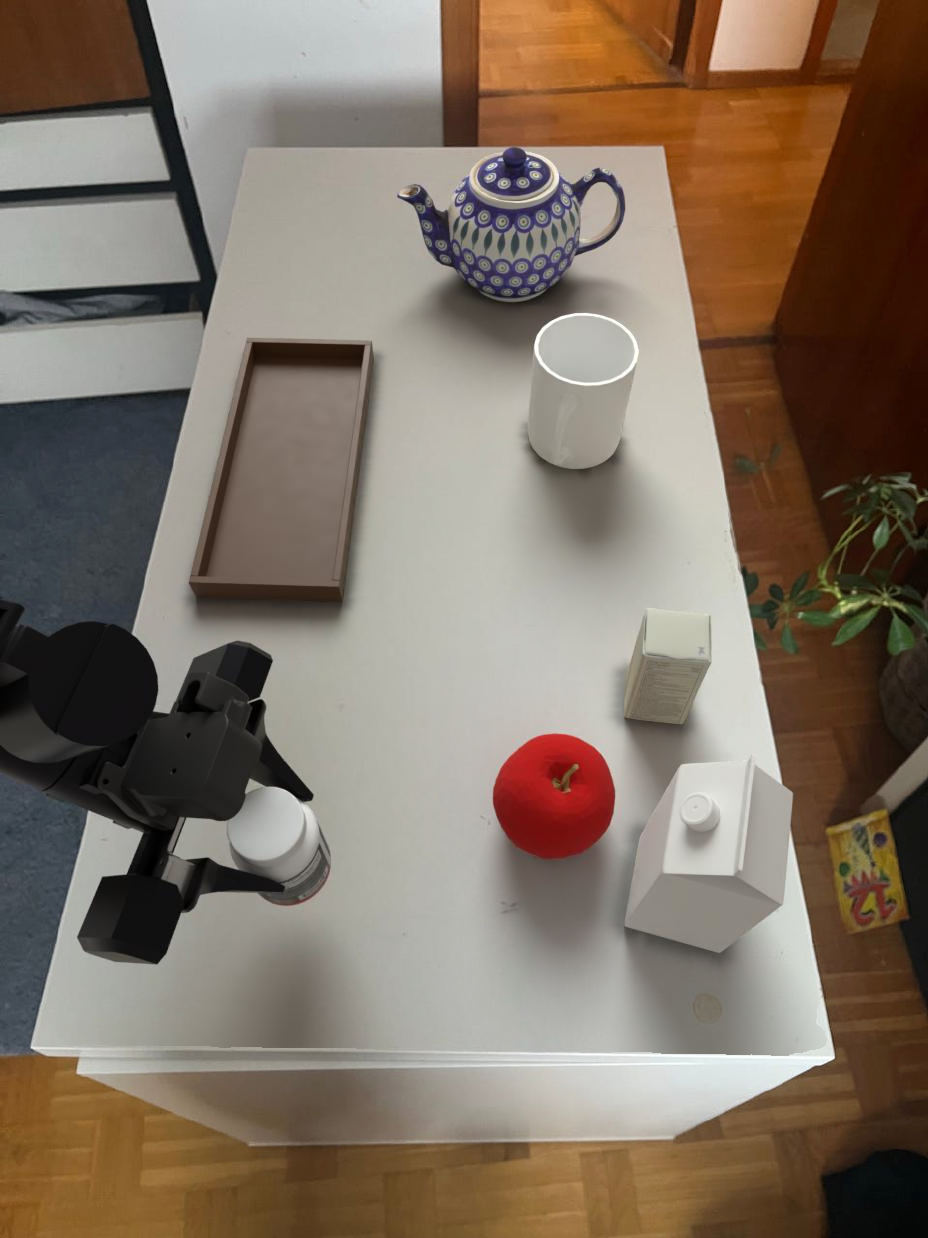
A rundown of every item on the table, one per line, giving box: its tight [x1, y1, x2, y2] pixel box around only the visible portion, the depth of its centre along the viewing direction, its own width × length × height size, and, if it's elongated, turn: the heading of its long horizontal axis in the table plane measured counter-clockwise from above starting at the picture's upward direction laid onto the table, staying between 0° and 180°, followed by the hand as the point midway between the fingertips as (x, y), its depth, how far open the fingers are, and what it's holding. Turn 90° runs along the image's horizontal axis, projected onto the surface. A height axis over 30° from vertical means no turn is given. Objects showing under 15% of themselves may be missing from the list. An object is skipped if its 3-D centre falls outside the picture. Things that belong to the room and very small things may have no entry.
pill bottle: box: [226, 786, 332, 907], centre depth 57 cm, size 6×6×10 cm
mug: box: [527, 312, 640, 470], centre depth 84 cm, size 10×12×12 cm
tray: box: [188, 337, 375, 603], centre depth 87 cm, size 31×13×2 cm, turn 178°
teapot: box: [396, 146, 626, 303], centre depth 97 cm, size 25×15×15 cm, turn 93°
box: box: [623, 607, 713, 725], centre depth 70 cm, size 5×4×11 cm
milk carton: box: [624, 753, 794, 954], centre depth 58 cm, size 7×7×19 cm
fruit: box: [492, 732, 616, 860], centre depth 65 cm, size 9×9×10 cm
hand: (295, 843), depth 56 cm, fingers closed on pill bottle, 6 cm apart
